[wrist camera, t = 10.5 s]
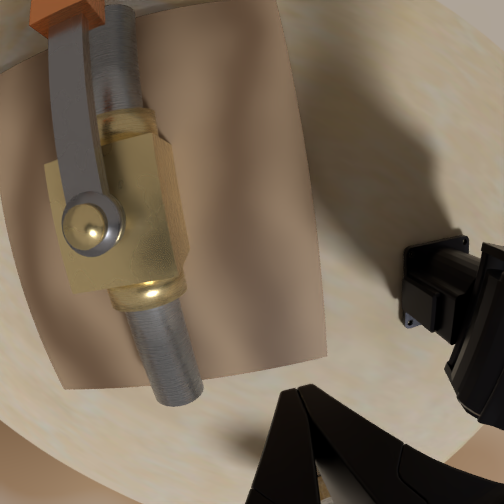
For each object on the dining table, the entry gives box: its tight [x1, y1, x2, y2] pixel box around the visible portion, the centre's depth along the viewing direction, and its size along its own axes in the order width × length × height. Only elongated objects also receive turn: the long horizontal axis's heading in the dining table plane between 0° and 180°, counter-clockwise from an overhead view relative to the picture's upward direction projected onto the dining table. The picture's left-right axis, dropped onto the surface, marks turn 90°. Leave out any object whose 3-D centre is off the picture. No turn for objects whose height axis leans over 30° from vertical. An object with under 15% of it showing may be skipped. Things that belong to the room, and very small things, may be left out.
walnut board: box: [0, 0, 327, 389], centre depth 18 cm, size 20×24×2 cm
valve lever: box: [29, 0, 126, 257], centre depth 9 cm, size 14×3×3 cm, turn 11°
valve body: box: [44, 5, 204, 407], centre depth 15 cm, size 5×23×6 cm, turn 9°
